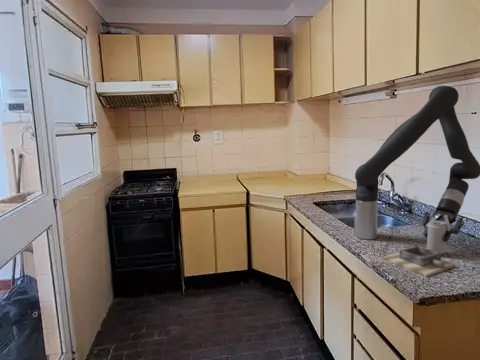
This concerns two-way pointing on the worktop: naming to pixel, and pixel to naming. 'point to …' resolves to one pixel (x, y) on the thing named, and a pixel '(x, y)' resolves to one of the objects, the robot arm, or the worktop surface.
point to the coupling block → (419, 260)
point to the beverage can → (436, 236)
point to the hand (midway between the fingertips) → (434, 238)
